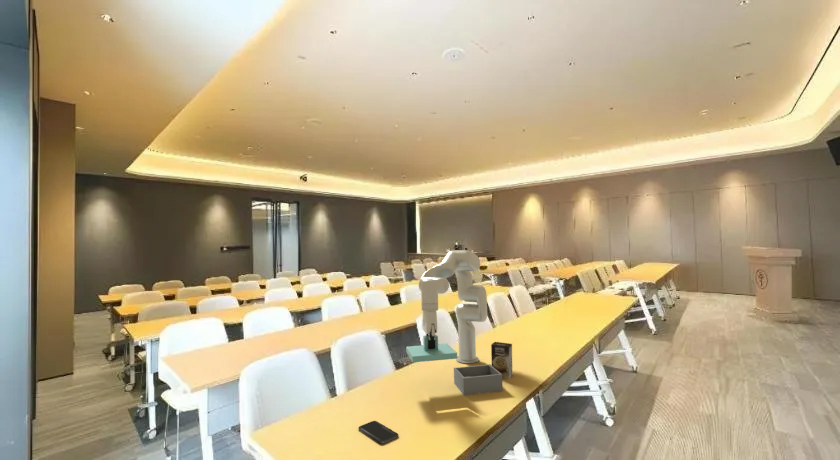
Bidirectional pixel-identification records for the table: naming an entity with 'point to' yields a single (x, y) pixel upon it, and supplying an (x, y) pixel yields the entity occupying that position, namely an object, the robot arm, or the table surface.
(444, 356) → the lid
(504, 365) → the coffee box
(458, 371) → the tub
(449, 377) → the table surface
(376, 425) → the phone
